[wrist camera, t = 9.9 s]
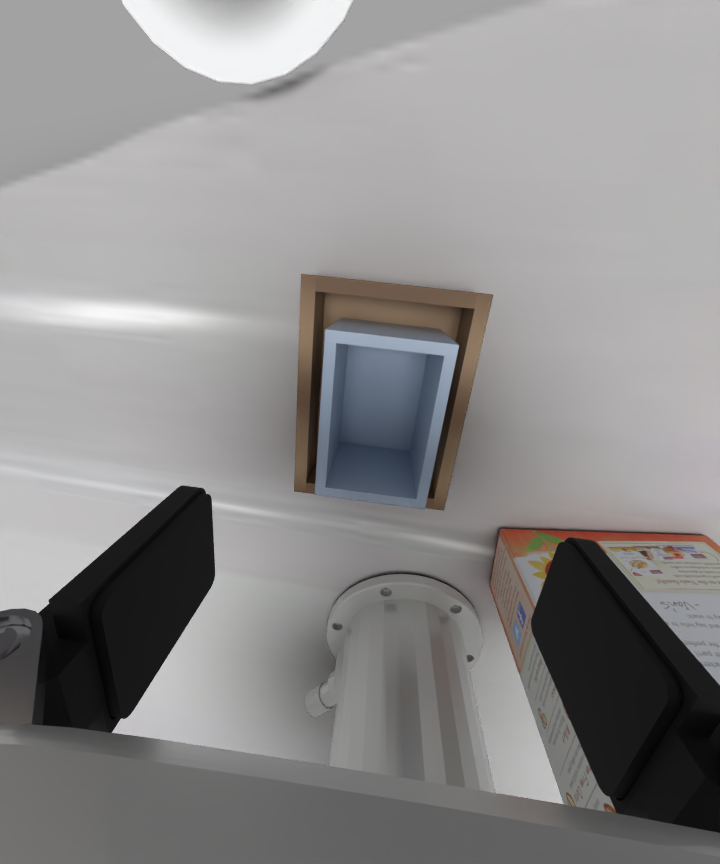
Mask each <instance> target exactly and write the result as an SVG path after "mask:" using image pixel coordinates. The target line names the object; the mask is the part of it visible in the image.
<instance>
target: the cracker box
mask: <svg viewBox="0 0 720 864" xmlns="http://www.w3.org/2000/svg"><path fill="white" fill-rule="evenodd" d="M569 537H573V538H580V539H588V540H593V541H595V542H596V543H597V544H598V545H599V546H600V547H601V548H602V550H603V551H604V552H605V553H606V554H607V555H608V557H609V558H610V559H611V560H612V561H613V562H614V563H615V565H616V566H617V567H618V568H619V569H620V570H621V572H622V573H623V574H624V575H625V576H626V577H627V579H628V580H629V581H630V582H631V583H632V584H633V585H634V587H635V588H636V589H637V590H638V591H639V592H640V594H641V595H642V596H643V597H644V598H645V599H646V600H647V602H648V603H649V604H650V605H651V606H652V607H653V609H654V610H655V611H656V612H657V613H658V614H659V616H660V617H661V618H662V619H663V620H664V621H665V622H666V624H667V625H668V626H669V627H670V628H671V629H672V631H673V632H674V633H675V634H676V635H677V636H678V637H679V639H680V640H681V641H682V642H683V643H684V644H685V646H686V647H687V648H688V649H689V650H690V651H691V653H692V654H693V655H694V656H695V657H696V658H697V659H698V661H699V662H700V663H701V664H702V665H703V666H704V668H705V669H706V670H707V671H708V672H709V673H710V675H711V676H712V677H713V678H714V679H715V680H716V681H717V683H718V684H719V685H720V546H718V545H717V544H716V543H715V542H713V541H712V540H711V539H710V538H708V537H707V536H703V535H676V534H644V533H612V532H584V531H553V530H524V529H500V532H499V537H498V542H497V548H496V554H495V559H494V564H493V570H492V576H491V581H490V585H489V586H490V589H491V592H492V595H493V598H494V601H495V604H496V607H497V610H498V613H499V616H500V619H501V622H502V624H503V627H504V631H505V634H506V637H507V639H508V642H509V645H510V648H511V651H512V654H513V657H514V660H515V663H516V666H517V669H518V672H519V675H520V678H521V681H522V683H523V686H524V689H525V692H526V695H527V698H528V701H529V704H530V707H531V709H532V712H533V715H534V718H535V721H536V724H537V727H538V730H539V733H540V736H541V739H542V741H543V744H544V747H545V750H546V753H547V756H548V759H549V762H550V765H551V768H552V770H553V773H554V776H555V779H556V782H557V785H558V788H559V791H560V794H561V797H562V800H563V803H564V805H569V806H575V807H581V808H587V809H593V810H599V811H605V812H611V813H616V811H615V808H614V806H613V804H612V802H611V799H610V797H609V796H606V795H605V794H604V793H603V792H602V791H601V789H600V788H599V786H598V784H597V782H596V779H595V777H594V775H593V772H592V770H591V768H590V765H589V763H588V761H587V758H586V756H585V754H584V752H583V749H582V747H581V745H580V742H579V740H578V738H577V735H576V733H575V731H574V728H573V726H572V724H571V721H570V719H569V717H568V715H567V712H566V710H565V708H564V705H563V703H562V701H561V698H560V696H559V694H558V691H557V689H556V687H555V684H554V682H553V680H552V678H551V675H550V673H549V671H548V668H547V666H546V664H545V661H544V659H543V657H542V654H541V652H540V650H539V647H538V645H537V643H536V641H535V638H534V636H533V633H532V630H531V618H532V615H533V612H534V610H535V607H536V604H537V601H538V598H539V596H540V593H541V590H542V587H543V585H544V582H545V579H546V576H547V573H548V571H549V568H550V565H551V562H552V559H553V557H554V554H555V551H556V548H557V546H558V544H559V543H560V542H564V541H565V540H566V539H567V538H569Z"/></svg>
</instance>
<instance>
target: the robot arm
mask: <svg viewBox="0 0 720 864" xmlns="http://www.w3.org/2000/svg"><path fill="white" fill-rule="evenodd" d="M214 577H215V562H214V541H213V520H212V500H211V496H210V495H209V494H206V492H205V490H204V489H203V488H197V487H190V486H180V487H178V488H177V489H176V490H175V491H174V492H173V493H171V494H170V495H169V496H168V497H167V498H166V499H165V500H163V501H162V502H161V503H160V504H159V505H158V506H156V507H155V508H154V509H153V510H152V511H151V512H150V513H148V514H147V515H146V516H145V517H144V518H143V519H142V520H140V521H139V522H138V523H137V524H136V525H135V526H133V527H132V528H131V529H130V530H129V531H128V532H127V533H125V534H124V535H123V536H122V537H121V538H120V539H118V540H117V541H116V542H115V543H114V544H113V545H112V546H110V547H109V548H108V549H107V550H106V551H105V552H104V553H102V554H101V555H100V556H99V557H98V558H97V559H95V560H94V561H93V562H92V563H91V564H90V565H89V566H87V567H86V568H85V569H84V570H83V571H82V572H81V573H79V574H78V575H77V576H76V577H75V578H74V579H72V580H71V581H70V582H69V583H68V584H67V585H66V586H64V587H63V588H62V589H61V590H60V591H59V592H57V593H56V594H55V595H54V596H53V597H52V598H51V599H49V604H48V605H47V606H46V607H45V608H44V609H43V610H42V611H40V612H39V613H37V612H36V611H33V610H29V609H9V610H5V611H0V864H720V685H719V684H718V683H717V681H716V680H715V679H714V678H713V677H712V676H711V675H710V673H709V672H708V671H707V670H706V669H705V668H704V666H703V665H702V664H701V663H700V662H699V661H698V659H697V658H696V657H695V656H694V655H693V654H692V653H691V651H690V650H689V649H688V648H687V647H686V646H685V644H684V643H683V642H682V641H681V640H680V639H679V637H678V636H677V635H676V634H675V633H674V632H673V631H672V629H671V628H670V627H669V626H668V625H667V624H666V622H665V621H664V620H663V619H662V618H661V617H660V616H659V614H658V613H657V612H656V611H655V610H654V609H653V607H652V606H651V605H650V604H649V603H648V602H647V600H646V599H645V598H644V597H643V596H642V595H641V594H640V592H639V591H638V590H637V589H636V588H635V587H634V585H633V584H632V583H631V582H630V581H629V580H628V579H627V577H626V576H625V575H624V574H623V573H622V572H621V570H620V569H619V568H618V567H617V566H616V565H615V563H614V562H613V561H612V560H611V559H610V558H609V557H608V555H607V554H606V553H605V552H604V551H603V550H602V548H601V547H600V546H599V545H598V544H597V543H596V542H595V541H593V540H588V539H580V538H573V537H569V538H567V539H566V540H565V541H564V542H560V543H559V544H558V546H557V548H556V551H555V554H554V557H553V559H552V562H551V565H550V568H549V571H548V573H547V576H546V579H545V582H544V585H543V587H542V590H541V593H540V596H539V598H538V601H537V604H536V607H535V610H534V612H533V615H532V618H531V630H532V633H533V636H534V638H535V641H536V643H537V645H538V647H539V650H540V652H541V654H542V657H543V659H544V661H545V664H546V666H547V668H548V671H549V673H550V675H551V678H552V680H553V682H554V684H555V687H556V689H557V691H558V694H559V696H560V698H561V701H562V703H563V705H564V708H565V710H566V712H567V715H568V717H569V719H570V721H571V724H572V726H573V728H574V731H575V733H576V735H577V738H578V740H579V742H580V745H581V747H582V749H583V752H584V754H585V756H586V758H587V761H588V763H589V765H590V768H591V770H592V772H593V775H594V777H595V779H596V782H597V784H598V786H599V788H600V789H601V791H602V792H603V793H604V794H605V795H606V796H609V797H610V799H611V802H612V804H613V806H614V808H615V811H616V813H611V812H605V811H599V810H593V809H587V808H581V807H575V806H569V805H564V804H558V803H552V802H546V801H540V800H534V799H528V798H522V797H516V796H510V795H504V794H498V793H495V789H494V785H493V780H492V775H491V770H490V766H489V761H488V756H487V751H486V747H485V742H484V737H483V732H482V728H481V723H480V718H479V713H478V709H477V704H476V699H475V694H474V690H473V685H472V680H471V675H470V671H469V670H470V669H471V668H472V667H473V665H474V664H475V662H476V661H477V659H478V658H479V655H480V652H481V649H482V643H483V635H482V630H481V626H480V622H479V619H478V616H477V614H476V611H475V610H474V608H473V607H472V605H471V604H470V602H469V601H468V600H467V599H466V598H465V597H464V596H462V595H461V594H460V593H459V592H458V591H456V590H455V589H453V588H451V587H450V586H448V585H446V584H444V583H442V582H439V581H437V580H434V579H431V578H427V577H423V576H419V575H409V574H392V575H384V576H379V577H374V578H371V579H368V580H365V581H363V582H360V583H358V584H357V585H355V586H353V587H352V588H350V589H348V590H347V591H346V592H345V593H344V594H343V595H342V596H340V597H339V598H338V600H337V601H336V603H335V604H334V606H333V607H332V610H331V613H330V615H329V619H328V625H327V631H326V632H327V643H328V646H329V649H330V652H331V654H332V655H333V657H334V659H335V660H336V666H335V670H334V671H333V672H332V673H331V674H330V675H329V678H328V681H327V682H324V683H321V684H320V685H318V686H317V687H315V688H313V689H312V690H310V691H309V692H308V693H307V695H306V698H305V706H306V709H307V711H308V713H309V714H310V715H311V716H312V717H318V716H320V715H322V714H323V713H325V712H327V711H328V710H330V709H331V708H333V707H334V705H335V704H336V711H335V719H334V727H333V735H332V743H331V751H330V759H329V766H327V765H320V764H314V763H308V762H302V761H295V760H289V759H283V758H276V757H270V756H263V755H257V754H250V753H244V752H238V751H231V750H225V749H218V748H212V747H205V746H199V745H193V744H186V743H180V742H173V741H167V740H160V739H153V738H146V737H138V736H131V735H123V734H116V733H112V731H113V730H114V728H115V727H116V725H117V723H118V722H119V720H120V719H121V718H123V719H125V718H127V717H128V716H129V715H130V714H131V713H132V711H133V710H134V709H135V707H136V705H137V704H138V702H139V701H140V699H141V697H142V696H143V694H144V693H145V691H146V690H147V688H148V686H149V685H150V683H151V682H152V680H153V678H154V677H155V675H156V674H157V672H158V671H159V669H160V667H161V666H162V664H163V663H164V661H165V659H166V658H167V656H168V655H169V653H170V652H171V650H172V648H173V647H174V645H175V644H176V642H177V640H178V639H179V637H180V636H181V634H182V632H183V631H184V629H185V628H186V626H187V625H188V623H189V621H190V620H191V618H192V617H193V615H194V613H195V612H196V610H197V609H198V607H199V606H200V604H201V602H202V601H203V599H204V598H205V596H206V594H207V593H208V591H209V590H210V588H211V586H212V584H213V581H214Z"/></svg>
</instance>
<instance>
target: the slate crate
mask: <svg viewBox="0 0 720 864" xmlns="http://www.w3.org/2000/svg"><path fill="white" fill-rule="evenodd" d="M458 349H459V344H457V343H456V342H455V341H454V340H453V339H451V338H450V337H449V336H448V335H447V334H445V333H444V332H443V331H442V330H441V329H438V328H429V327H420V326H412V325H403V324H395V323H386V322H377V321H369V320H360V319H351V318H341V319H340V320H338V321H337V322H335V323H334V324H332V325H331V326H329V327H328V328H326V329H325V341H324V357H323V372H322V388H321V403H320V419H319V435H318V450H317V466H316V481H315V495H320V496H328V497H335V498H343V499H350V500H358V501H366V502H373V503H381V504H389V505H396V506H404V507H412V508H419V509H425V507H426V502H427V497H428V492H429V487H430V483H431V478H432V473H433V468H434V463H435V459H436V454H437V449H438V444H439V440H440V435H441V430H442V425H443V420H444V416H445V411H446V406H447V401H448V396H449V392H450V387H451V382H452V377H453V372H454V368H455V363H456V358H457V353H458Z"/></svg>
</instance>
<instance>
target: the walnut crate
mask: <svg viewBox="0 0 720 864" xmlns="http://www.w3.org/2000/svg"><path fill="white" fill-rule="evenodd" d="M492 298H493V295H492V294H483V293H474V292H465V291H455V290H446V289H437V288H428V287H418V286H409V285H400V284H391V283H381V282H372V281H363V280H354V279H344V278H335V277H326V276H317V275H308V274H301V300H300V330H299V360H298V390H297V421H296V451H295V481H294V491H295V492H303V493H311V494H315V481H316V466H317V450H318V435H319V419H320V403H321V388H322V372H323V357H324V341H325V329H326V328H328V327H329V326H331V325H332V324H334V323H335V322H337V321H338V320H340V319H341V318H351V319H360V320H369V321H377V322H386V323H395V324H403V325H412V326H420V327H429V328H438V329H441V330H442V331H443V332H444V333H445V334H447V335H448V336H449V337H450V338H451V339H453V340H454V341H455V342H456V343H457V344H459V349H458V353H457V358H456V363H455V368H454V372H453V377H452V382H451V387H450V392H449V396H448V401H447V406H446V411H445V416H444V420H443V425H442V430H441V435H440V440H439V444H438V449H437V454H436V459H435V463H434V468H433V473H432V478H431V483H430V487H429V492H428V497H427V502H426V507H425V508H429V509H437V510H444V508H445V503H446V499H447V495H448V490H449V486H450V481H451V477H452V473H453V468H454V464H455V460H456V455H457V451H458V446H459V442H460V438H461V433H462V429H463V425H464V420H465V416H466V411H467V407H468V403H469V398H470V394H471V390H472V385H473V381H474V376H475V372H476V368H477V363H478V359H479V355H480V350H481V346H482V342H483V337H484V333H485V328H486V324H487V320H488V315H489V311H490V307H491V302H492Z"/></svg>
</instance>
